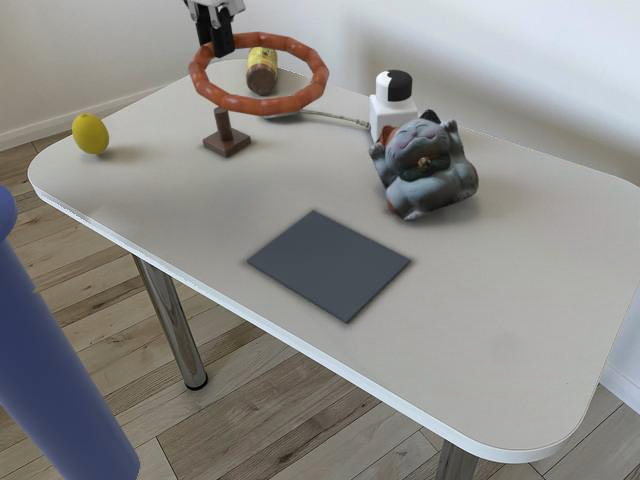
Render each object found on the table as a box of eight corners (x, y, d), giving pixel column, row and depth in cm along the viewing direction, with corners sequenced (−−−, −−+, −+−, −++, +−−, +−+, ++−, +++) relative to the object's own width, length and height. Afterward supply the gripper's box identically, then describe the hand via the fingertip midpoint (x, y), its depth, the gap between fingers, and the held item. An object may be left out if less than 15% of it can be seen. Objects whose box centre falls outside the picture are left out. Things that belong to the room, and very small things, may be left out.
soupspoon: (274, 107, 110) (258, 125, 106) (271, 92, 108) (254, 109, 103) (378, 121, 103) (365, 140, 99) (377, 104, 100) (364, 124, 96)
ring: (262, 137, 65) (261, 123, 63) (161, 75, 71) (159, 60, 69) (353, 80, 75) (355, 67, 73) (258, 30, 81) (258, 16, 79)
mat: (346, 323, 69) (346, 321, 69) (246, 262, 77) (246, 259, 77) (410, 262, 77) (410, 259, 76) (313, 212, 85) (313, 209, 85)
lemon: (105, 142, 101) (90, 102, 95) (120, 154, 98) (105, 113, 92) (76, 154, 98) (59, 114, 92) (91, 167, 95) (73, 125, 89)
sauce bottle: (265, 62, 107) (266, 20, 121) (239, 77, 109) (242, 34, 122) (284, 88, 111) (282, 45, 125) (258, 103, 113) (259, 59, 127)
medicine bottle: (407, 126, 103) (410, 63, 94) (416, 147, 97) (420, 82, 89) (369, 130, 102) (369, 67, 94) (376, 151, 97) (377, 86, 88)
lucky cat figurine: (384, 228, 82) (357, 136, 77) (388, 207, 93) (365, 125, 88) (485, 203, 79) (464, 105, 74) (477, 184, 90) (458, 98, 85)
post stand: (226, 158, 96) (218, 122, 91) (203, 146, 99) (195, 111, 94) (251, 143, 99) (245, 107, 95) (228, 132, 102) (222, 97, 97)
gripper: (117, -111, 64) (159, 47, 76) (210, -94, 56) (239, 77, 69) (169, -122, 68) (200, 30, 81) (262, -108, 61) (280, 56, 73)
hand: (218, 51), depth 75 cm, fingers closed on ring, 2 cm apart
